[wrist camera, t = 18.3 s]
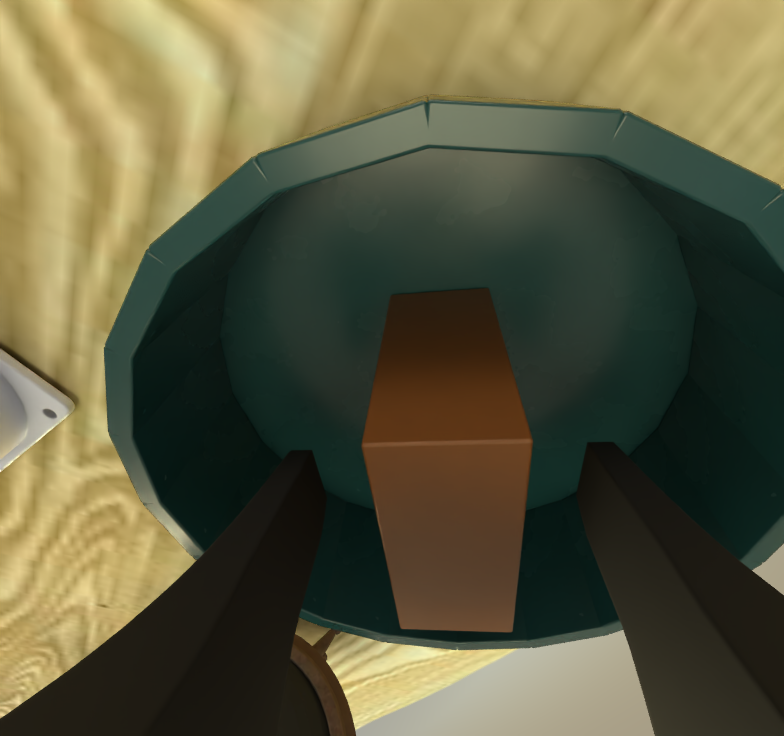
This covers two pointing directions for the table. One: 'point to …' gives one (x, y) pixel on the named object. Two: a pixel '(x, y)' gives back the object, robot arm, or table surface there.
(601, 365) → the pot
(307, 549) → the robot arm
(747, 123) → the table surface
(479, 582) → the tall brown block
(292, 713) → the alarm clock
